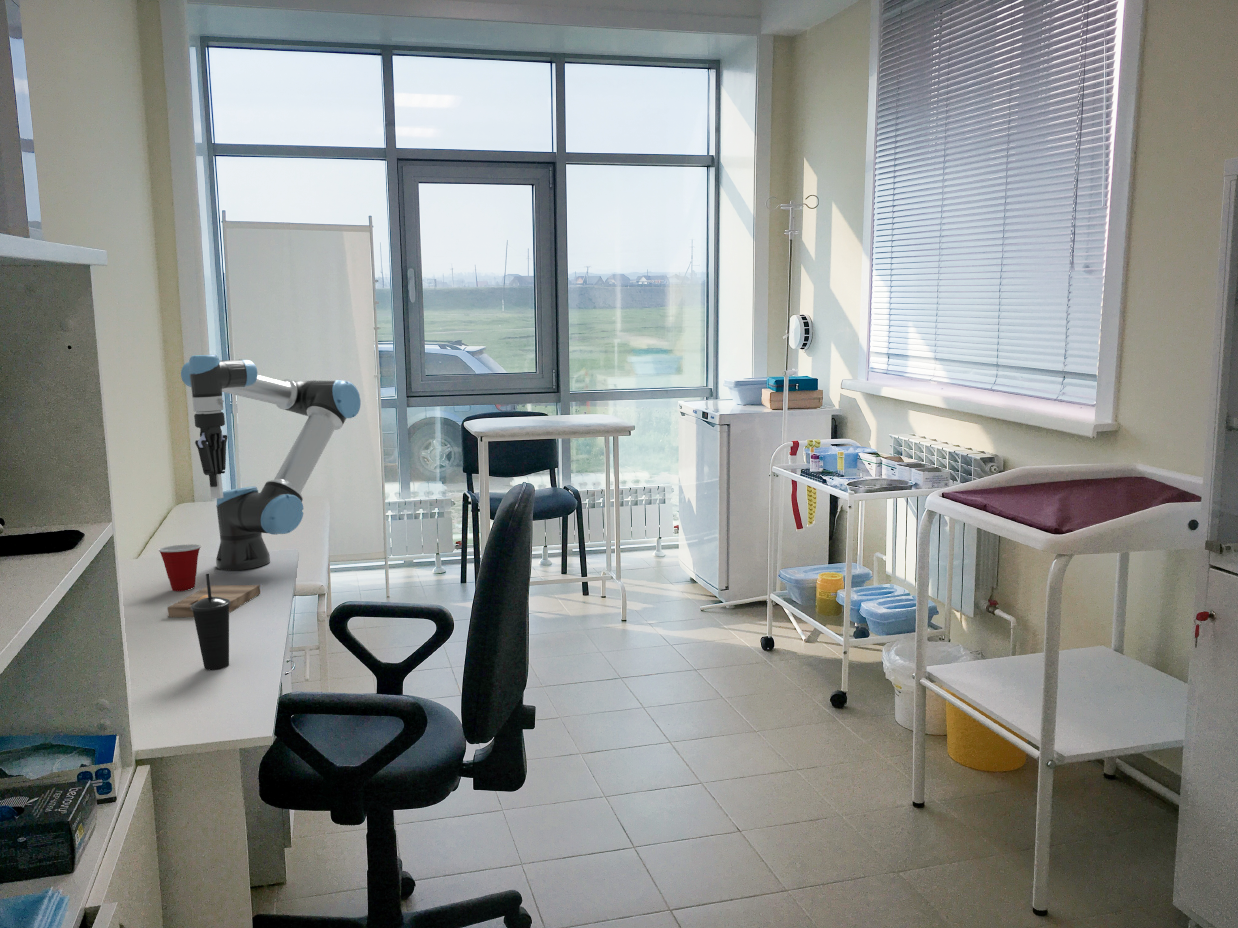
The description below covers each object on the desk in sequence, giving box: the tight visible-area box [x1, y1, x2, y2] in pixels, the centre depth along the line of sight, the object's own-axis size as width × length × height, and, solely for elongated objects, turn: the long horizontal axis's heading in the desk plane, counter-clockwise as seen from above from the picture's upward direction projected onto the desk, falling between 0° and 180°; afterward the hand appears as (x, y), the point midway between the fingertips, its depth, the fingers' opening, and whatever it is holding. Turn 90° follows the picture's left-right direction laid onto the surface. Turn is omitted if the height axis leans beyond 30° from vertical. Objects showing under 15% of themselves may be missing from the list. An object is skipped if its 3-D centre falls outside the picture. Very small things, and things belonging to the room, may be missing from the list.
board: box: [167, 584, 261, 618], centre depth 252 cm, size 20×14×2 cm
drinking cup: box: [191, 573, 230, 671], centre depth 205 cm, size 8×8×20 cm
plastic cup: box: [157, 543, 202, 592], centre depth 269 cm, size 11×11×12 cm
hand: (217, 497), depth 269 cm, fingers closed
